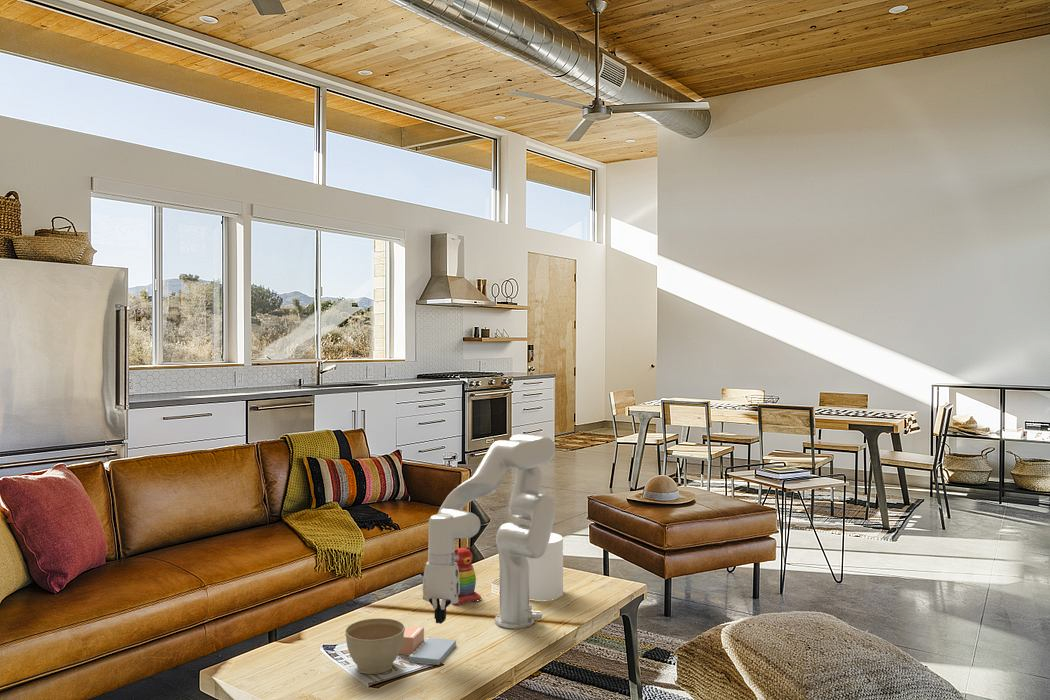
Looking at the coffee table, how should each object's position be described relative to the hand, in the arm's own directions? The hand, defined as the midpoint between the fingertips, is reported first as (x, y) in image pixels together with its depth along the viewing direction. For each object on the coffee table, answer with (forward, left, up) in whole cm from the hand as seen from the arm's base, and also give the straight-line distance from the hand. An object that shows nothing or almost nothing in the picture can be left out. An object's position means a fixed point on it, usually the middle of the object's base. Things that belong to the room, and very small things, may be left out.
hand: (440, 621), depth 218 cm
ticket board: (+2, 0, -9) cm, 9 cm away
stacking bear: (+9, -45, -9) cm, 47 cm away
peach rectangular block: (+9, -1, -9) cm, 13 cm away
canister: (-16, -57, -9) cm, 60 cm away
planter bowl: (+14, +13, -9) cm, 21 cm away
